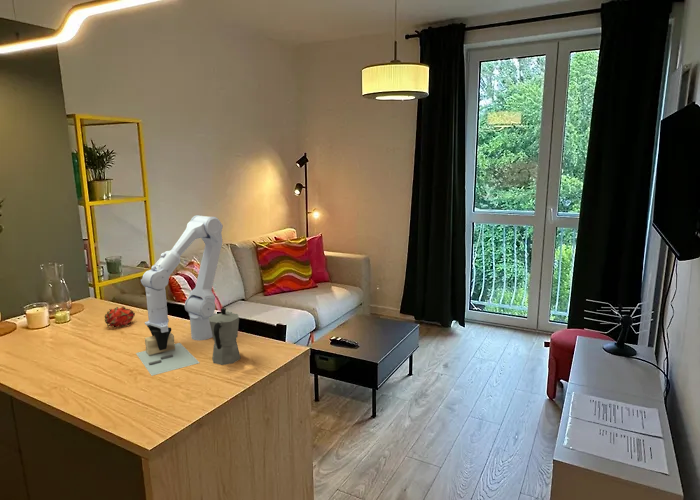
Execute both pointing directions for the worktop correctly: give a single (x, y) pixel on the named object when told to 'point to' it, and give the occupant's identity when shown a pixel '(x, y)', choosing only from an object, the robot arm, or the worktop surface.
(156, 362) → the pencil mark
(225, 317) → the coffeepot
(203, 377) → the worktop surface
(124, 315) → the dragon fruit
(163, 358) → the pencil mark
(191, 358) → the board
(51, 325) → the worktop surface
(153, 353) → the block
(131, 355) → the worktop surface
